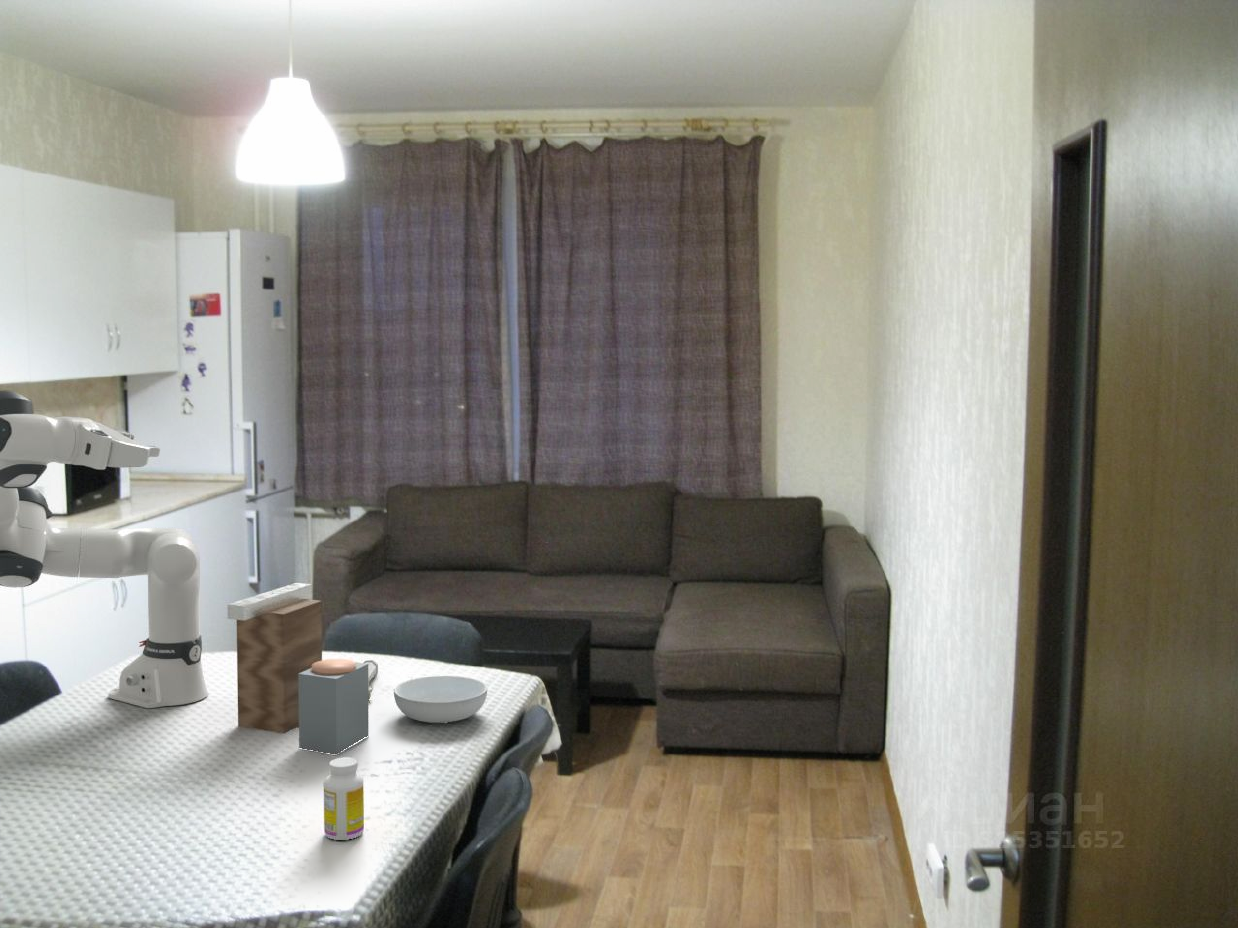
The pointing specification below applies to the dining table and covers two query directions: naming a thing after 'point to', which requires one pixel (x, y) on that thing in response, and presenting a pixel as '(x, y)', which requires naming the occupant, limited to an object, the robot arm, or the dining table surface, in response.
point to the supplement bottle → (343, 800)
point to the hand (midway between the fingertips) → (144, 445)
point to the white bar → (269, 601)
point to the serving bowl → (440, 698)
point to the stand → (276, 664)
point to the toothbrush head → (371, 673)
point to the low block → (333, 705)
